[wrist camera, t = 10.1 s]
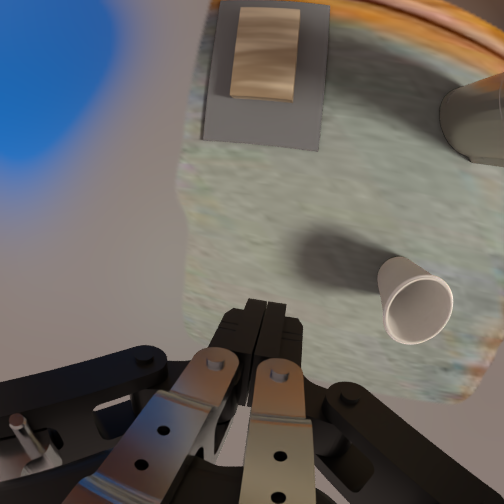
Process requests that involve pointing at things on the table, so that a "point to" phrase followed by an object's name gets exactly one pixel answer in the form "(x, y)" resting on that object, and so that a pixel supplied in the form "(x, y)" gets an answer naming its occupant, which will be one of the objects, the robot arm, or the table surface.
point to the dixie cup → (412, 301)
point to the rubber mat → (262, 111)
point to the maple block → (266, 54)
